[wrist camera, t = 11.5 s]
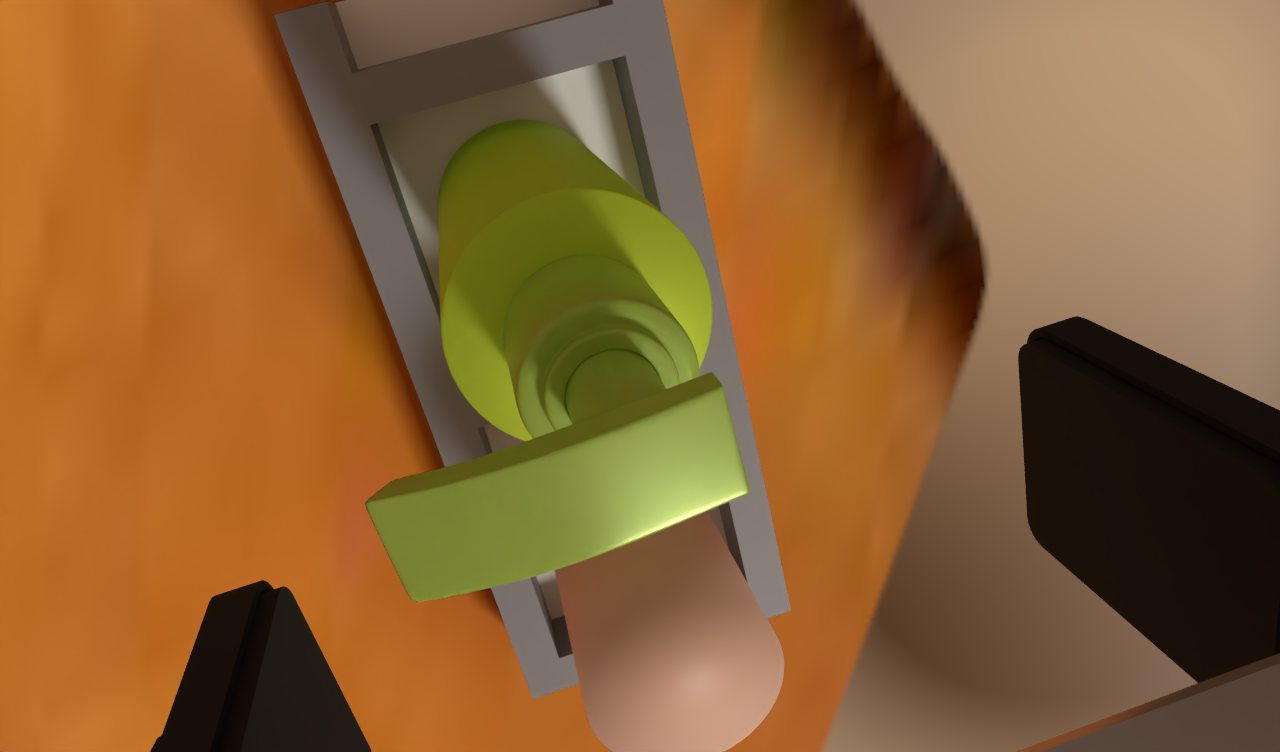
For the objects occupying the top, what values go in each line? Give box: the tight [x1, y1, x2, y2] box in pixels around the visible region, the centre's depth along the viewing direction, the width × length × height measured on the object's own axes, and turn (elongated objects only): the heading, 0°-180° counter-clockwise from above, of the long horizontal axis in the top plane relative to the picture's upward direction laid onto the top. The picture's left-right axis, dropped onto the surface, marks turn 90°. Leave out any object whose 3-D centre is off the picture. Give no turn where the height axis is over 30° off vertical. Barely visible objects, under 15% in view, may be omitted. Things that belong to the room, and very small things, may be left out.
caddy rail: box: [274, 0, 791, 752], centre depth 29 cm, size 26×11×12 cm, turn 14°
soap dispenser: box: [365, 120, 750, 602], centre depth 22 cm, size 6×7×20 cm
